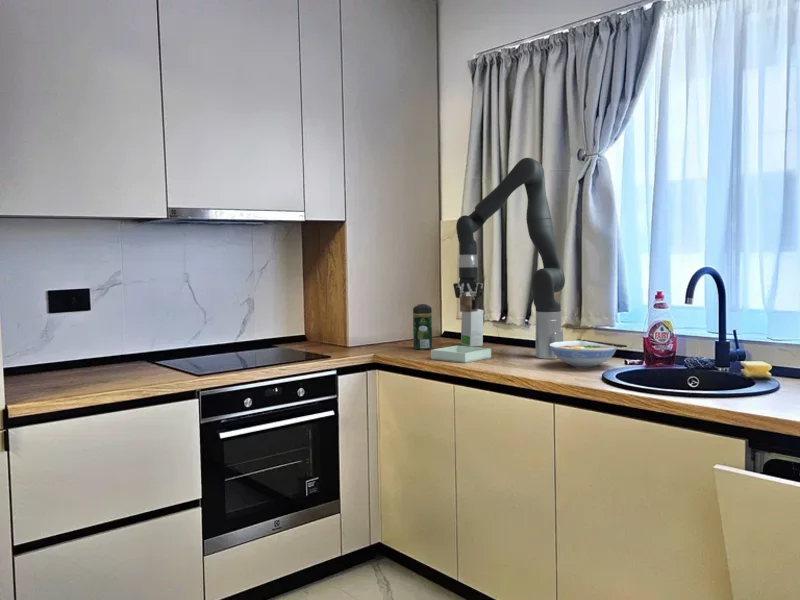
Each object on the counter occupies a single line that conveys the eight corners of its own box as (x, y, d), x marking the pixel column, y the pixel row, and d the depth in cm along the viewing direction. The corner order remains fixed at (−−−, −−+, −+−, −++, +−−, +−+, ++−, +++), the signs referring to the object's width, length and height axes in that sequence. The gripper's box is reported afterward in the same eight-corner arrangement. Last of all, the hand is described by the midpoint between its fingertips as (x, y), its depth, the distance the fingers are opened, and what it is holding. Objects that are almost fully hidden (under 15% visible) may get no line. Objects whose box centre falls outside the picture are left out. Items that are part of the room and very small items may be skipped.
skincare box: (460, 344, 297) (460, 308, 296) (473, 343, 300) (473, 308, 299) (470, 346, 290) (470, 310, 289) (484, 345, 292) (483, 309, 291)
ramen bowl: (534, 363, 242) (534, 340, 242) (588, 359, 250) (588, 336, 250) (577, 374, 219) (577, 348, 218) (635, 369, 227) (635, 344, 227)
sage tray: (491, 357, 257) (491, 348, 256) (465, 363, 245) (465, 353, 245) (457, 354, 268) (457, 345, 267) (430, 359, 256) (430, 349, 256)
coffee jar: (413, 347, 291) (413, 303, 290) (432, 347, 291) (431, 303, 290) (413, 350, 281) (412, 305, 280) (432, 350, 281) (431, 304, 280)
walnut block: (477, 311, 273) (477, 296, 273) (470, 312, 269) (469, 296, 269) (467, 310, 277) (467, 295, 276) (460, 311, 273) (459, 296, 273)
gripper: (488, 266, 270) (489, 309, 271) (459, 266, 280) (460, 307, 281) (477, 266, 264) (477, 310, 265) (448, 266, 274) (448, 309, 275)
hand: (468, 308), depth 273 cm, fingers closed on walnut block, 5 cm apart
